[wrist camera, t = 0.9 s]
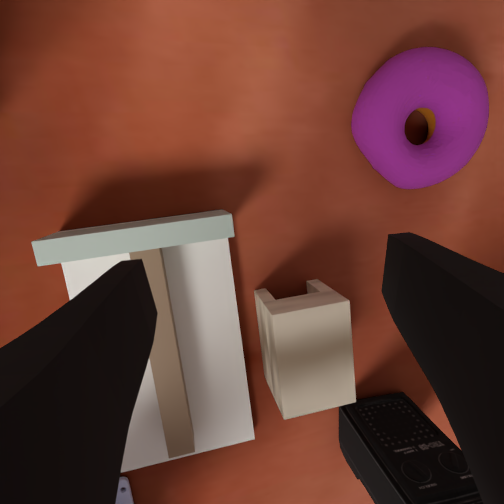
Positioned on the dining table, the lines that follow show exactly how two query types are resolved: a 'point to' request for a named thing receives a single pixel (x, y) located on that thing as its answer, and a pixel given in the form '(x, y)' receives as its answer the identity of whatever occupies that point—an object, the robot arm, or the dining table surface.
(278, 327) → the saddle block
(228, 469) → the dining table surface
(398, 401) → the portable radio
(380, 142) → the donut
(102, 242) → the board
